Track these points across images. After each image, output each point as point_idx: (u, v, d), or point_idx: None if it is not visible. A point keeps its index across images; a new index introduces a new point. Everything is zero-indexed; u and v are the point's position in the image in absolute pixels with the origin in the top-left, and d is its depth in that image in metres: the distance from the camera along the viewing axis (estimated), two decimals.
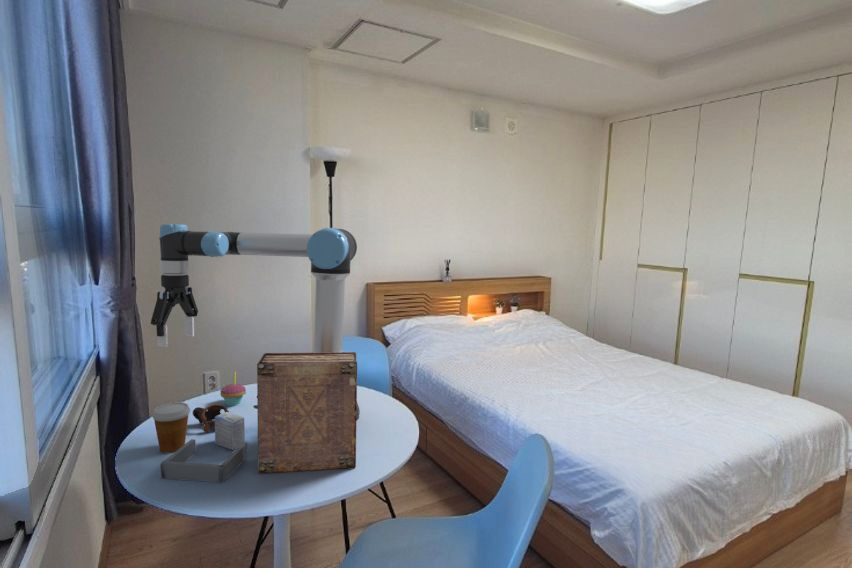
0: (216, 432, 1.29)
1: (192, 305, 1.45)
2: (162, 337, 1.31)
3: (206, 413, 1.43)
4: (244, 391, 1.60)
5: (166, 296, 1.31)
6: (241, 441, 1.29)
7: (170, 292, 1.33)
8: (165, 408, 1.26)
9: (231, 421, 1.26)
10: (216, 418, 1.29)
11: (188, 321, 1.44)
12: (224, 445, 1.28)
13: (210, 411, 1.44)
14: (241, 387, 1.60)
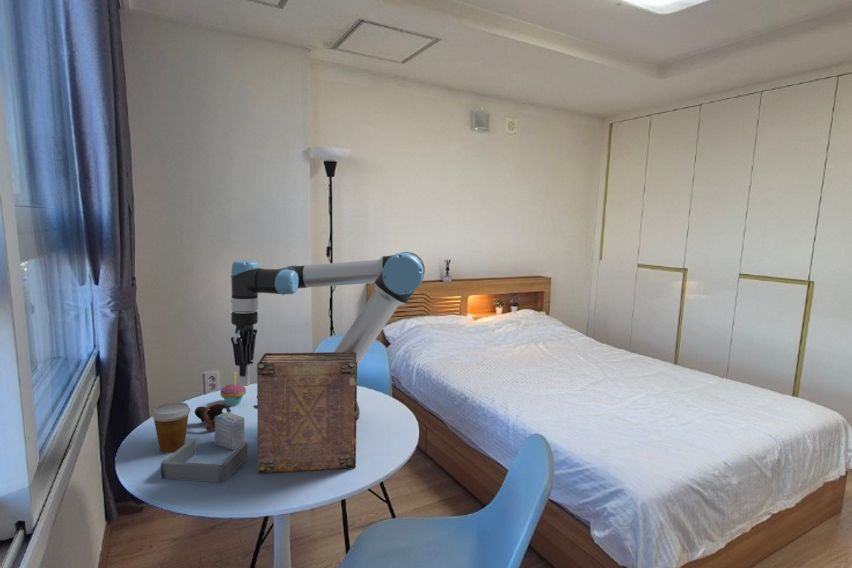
0: (216, 432, 1.29)
1: (251, 349, 1.40)
2: (244, 377, 1.37)
3: (208, 412, 1.43)
4: (244, 391, 1.60)
5: (240, 340, 1.31)
6: (241, 441, 1.29)
7: (241, 332, 1.32)
8: (165, 408, 1.26)
9: (231, 421, 1.26)
10: (216, 418, 1.29)
11: None
12: (224, 445, 1.28)
13: (212, 410, 1.44)
14: (241, 387, 1.60)
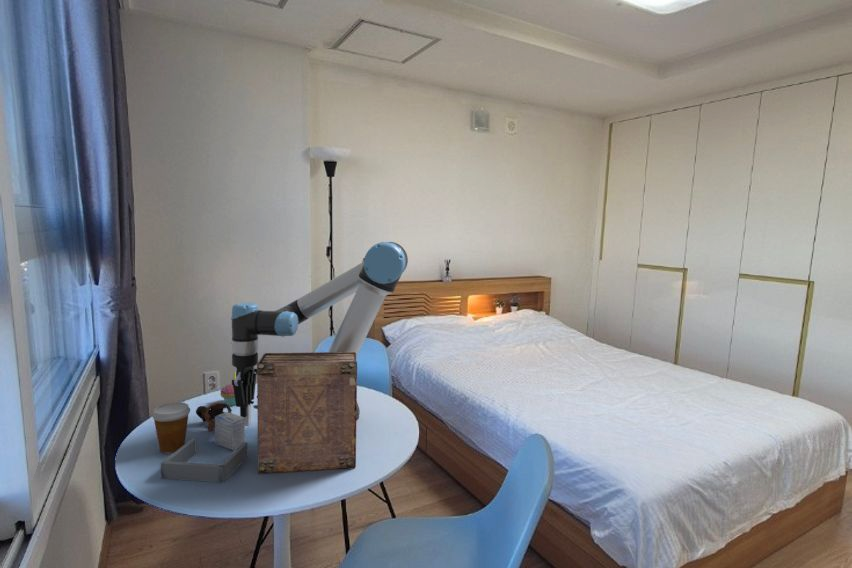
0: (216, 432, 1.29)
1: (252, 388, 1.42)
2: (245, 417, 1.39)
3: (209, 412, 1.44)
4: None
5: (241, 383, 1.33)
6: (241, 441, 1.29)
7: (242, 374, 1.34)
8: (165, 408, 1.26)
9: (231, 421, 1.26)
10: (216, 418, 1.29)
11: None
12: (224, 445, 1.28)
13: (213, 410, 1.45)
14: None
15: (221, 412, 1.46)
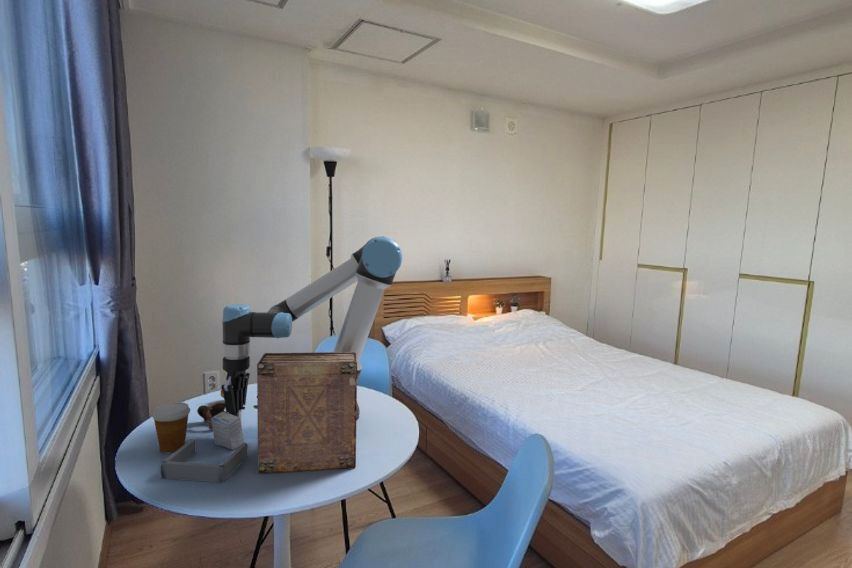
0: (214, 433, 1.28)
1: (243, 393, 1.36)
2: None
3: (210, 411, 1.44)
4: None
5: (231, 388, 1.27)
6: (240, 440, 1.28)
7: (232, 379, 1.28)
8: (165, 408, 1.26)
9: (227, 422, 1.25)
10: (212, 420, 1.27)
11: (236, 415, 1.34)
12: (224, 445, 1.28)
13: (214, 409, 1.45)
14: None
15: (222, 411, 1.47)
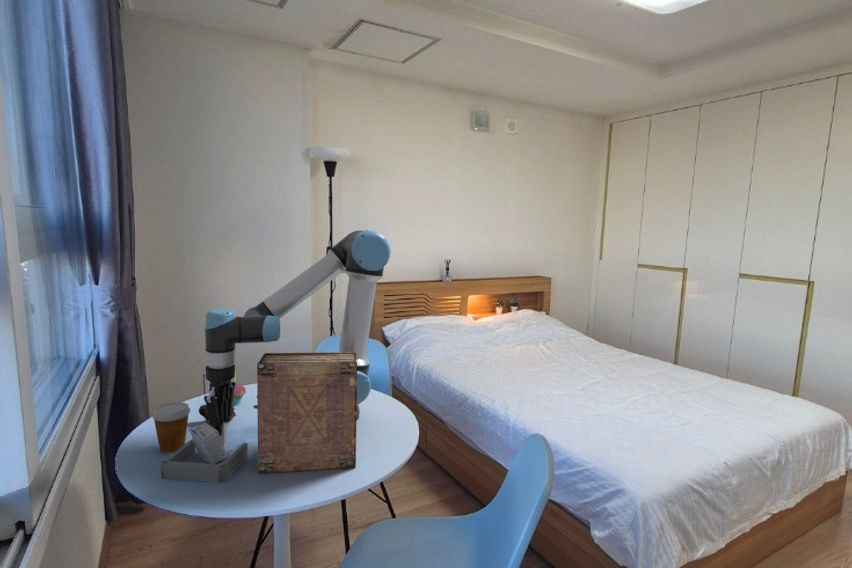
0: (196, 445, 1.21)
1: (228, 404, 1.27)
2: (220, 436, 1.25)
3: None
4: (244, 391, 1.60)
5: (214, 399, 1.19)
6: (220, 454, 1.19)
7: (216, 390, 1.20)
8: (165, 408, 1.26)
9: (203, 436, 1.16)
10: (191, 432, 1.20)
11: None
12: (204, 459, 1.20)
13: None
14: (241, 387, 1.60)
15: None
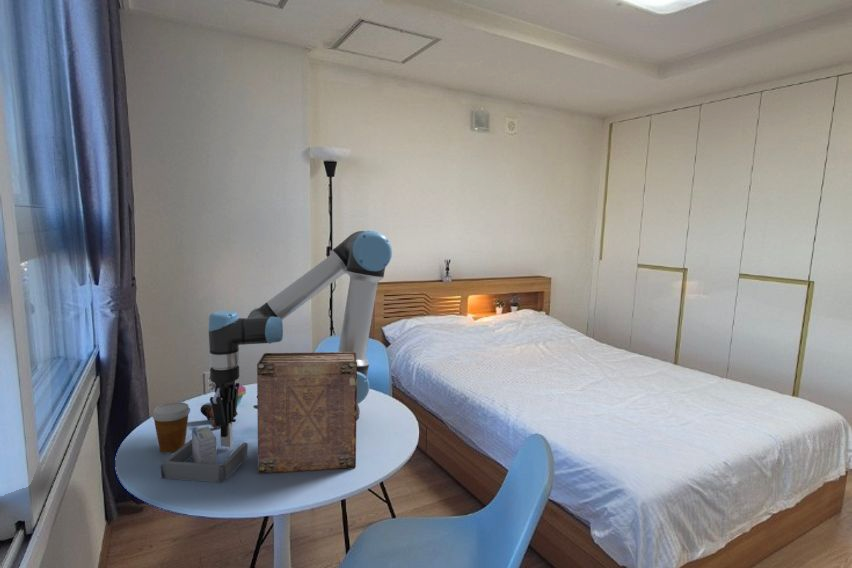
0: (192, 447, 1.19)
1: (233, 405, 1.29)
2: (226, 437, 1.26)
3: None
4: (244, 391, 1.60)
5: (220, 400, 1.20)
6: (211, 462, 1.16)
7: (221, 391, 1.21)
8: (165, 408, 1.26)
9: (200, 438, 1.15)
10: (192, 432, 1.19)
11: None
12: None
13: None
14: (241, 387, 1.60)
15: None
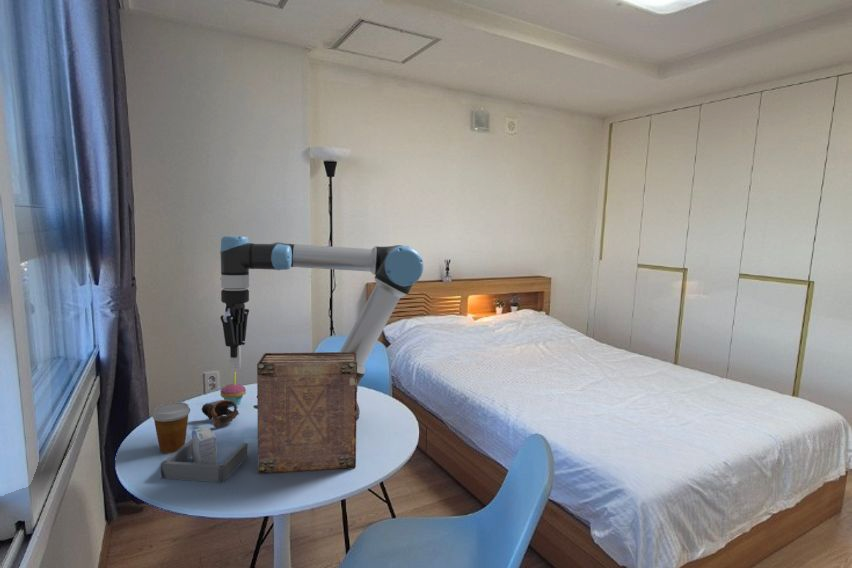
0: (192, 447, 1.19)
1: (243, 329, 1.33)
2: (235, 358, 1.30)
3: (215, 409, 1.46)
4: (244, 391, 1.60)
5: (230, 319, 1.24)
6: (211, 462, 1.16)
7: (231, 311, 1.25)
8: (165, 408, 1.26)
9: (200, 438, 1.15)
10: (192, 432, 1.19)
11: None
12: None
13: (218, 407, 1.47)
14: (241, 387, 1.60)
15: (226, 409, 1.49)
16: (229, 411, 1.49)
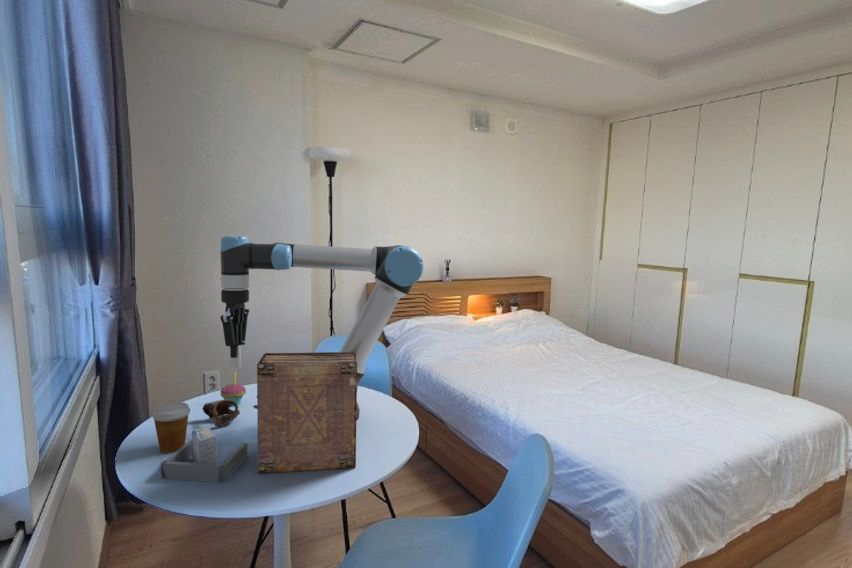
0: (192, 447, 1.19)
1: (243, 329, 1.33)
2: (235, 358, 1.30)
3: (216, 409, 1.46)
4: (244, 391, 1.60)
5: (230, 319, 1.24)
6: (211, 462, 1.16)
7: (231, 310, 1.25)
8: (165, 408, 1.26)
9: (200, 438, 1.15)
10: (192, 432, 1.19)
11: None
12: None
13: (219, 407, 1.47)
14: (241, 387, 1.60)
15: (227, 409, 1.49)
16: (230, 411, 1.49)
